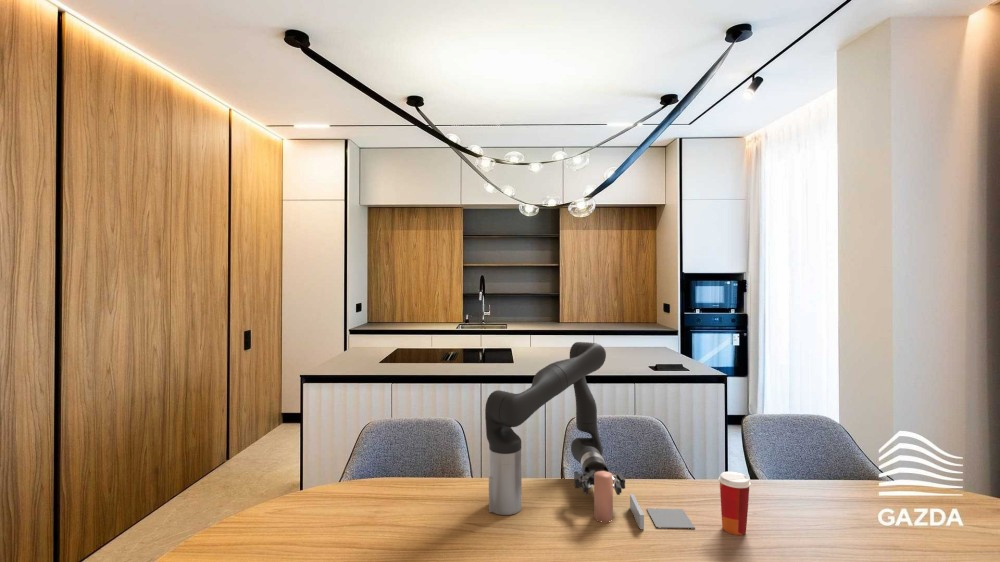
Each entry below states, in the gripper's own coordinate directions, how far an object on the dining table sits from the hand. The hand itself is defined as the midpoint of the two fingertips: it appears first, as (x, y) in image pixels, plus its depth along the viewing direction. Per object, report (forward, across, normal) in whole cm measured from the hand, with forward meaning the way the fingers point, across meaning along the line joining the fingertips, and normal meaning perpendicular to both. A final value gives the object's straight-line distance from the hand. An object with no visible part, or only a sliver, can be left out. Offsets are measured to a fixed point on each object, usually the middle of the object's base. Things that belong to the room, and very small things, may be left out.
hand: (603, 491), depth 138 cm
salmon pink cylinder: (+1, 0, +7) cm, 7 cm away
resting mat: (+1, +18, +7) cm, 19 cm away
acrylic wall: (+1, +9, +7) cm, 11 cm away
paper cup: (+6, +33, +7) cm, 34 cm away
